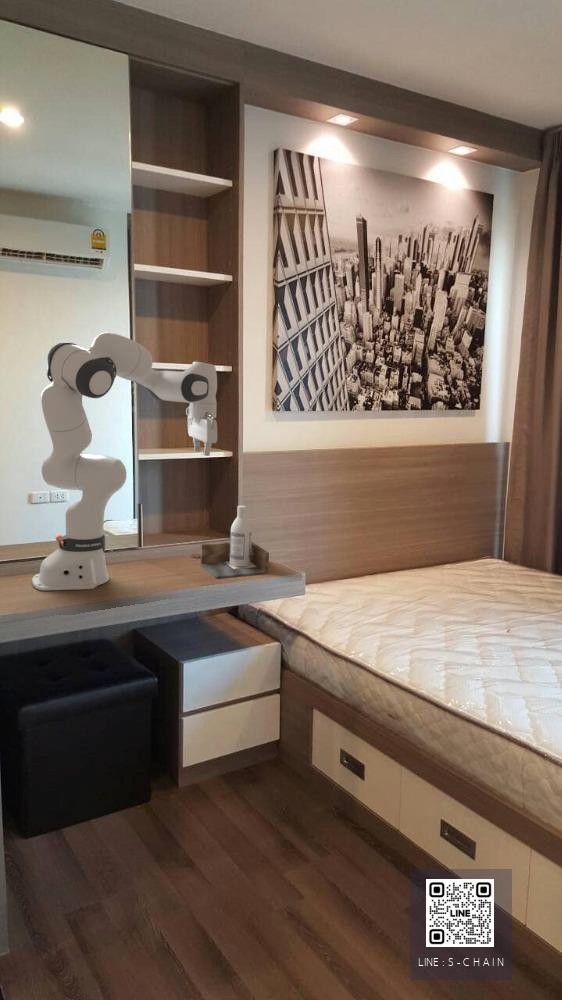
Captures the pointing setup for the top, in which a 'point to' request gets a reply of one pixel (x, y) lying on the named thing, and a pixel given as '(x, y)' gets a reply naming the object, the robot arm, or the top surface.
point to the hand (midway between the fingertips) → (202, 453)
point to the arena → (219, 565)
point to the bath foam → (240, 539)
